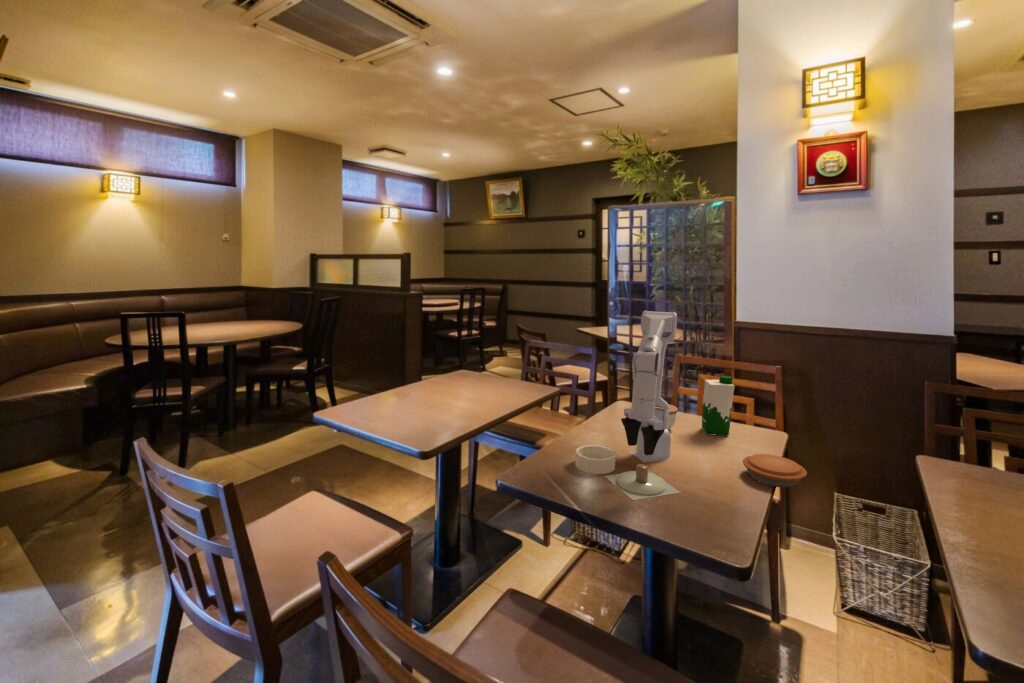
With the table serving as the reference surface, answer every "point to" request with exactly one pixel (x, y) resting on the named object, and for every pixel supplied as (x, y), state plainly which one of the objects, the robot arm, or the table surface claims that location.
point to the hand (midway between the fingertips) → (640, 449)
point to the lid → (641, 481)
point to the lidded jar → (671, 415)
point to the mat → (634, 496)
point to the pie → (774, 470)
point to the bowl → (595, 459)
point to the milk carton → (717, 405)
